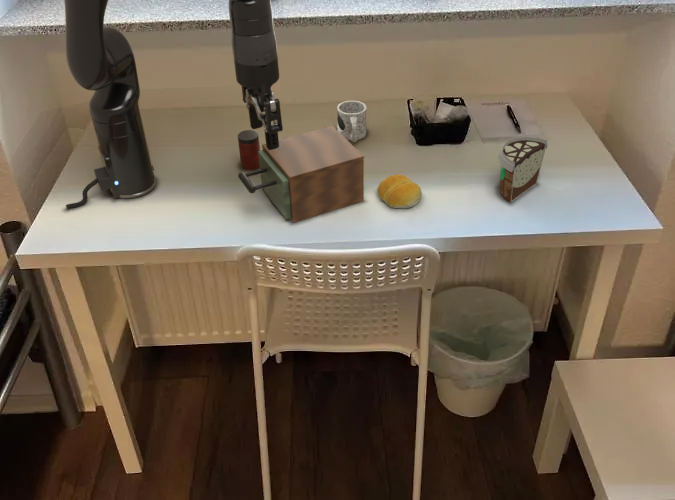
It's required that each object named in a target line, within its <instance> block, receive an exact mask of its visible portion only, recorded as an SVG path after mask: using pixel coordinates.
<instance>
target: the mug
mask: <svg viewBox="0 0 675 500" xmlns="http://www.w3.org/2000/svg"><path fill="white" fill-rule="evenodd" d="M336 119H337V121H336V123H337V131H338V132H339V133H340V134H341V135H342V136H343V137H344V138H345V139H346V140H347V141H351V142H352V143H356V142H357V141H359V140H362V139H364V138H366V135H367V104H365V103H364V102H362V101H358V100H345V101H342V102H340V103H339V104H337V106H336Z"/></svg>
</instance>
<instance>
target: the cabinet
mask: <svg viewBox="0 0 675 500" xmlns="http://www.w3.org/2000/svg"><path fill="white" fill-rule="evenodd" d="M278 140H279V147H278V148H276V149H272V150H268V149H267V147H266V143H263V144H261V145H262V146H261V147H262V150H264V151H265V152H266V153H267V155H268V156H269V157H270V158H271V159H272V160H273V161H274V162H275V163H276V165H277V166H278V167H279V168H280V169H281V171H282V172H283V173H284V174H285V175H286V177H287V178H288V180H289V192H290V205H291V218H289V220H290V221H291V222H292V224H296V223H298V222H301V221H305V220H307V219H311V218H314V217H318V216H320V215H323V214H324V215H325V214H327V213H330V212H333V211H336V210H340V209H343V208H346V207H350V206H353V205H356V204H359V203H362V202H364V198H365V197H364V195H365V194H364V190H365V187H364V182H365V178H364V177H365V171H364V170H365V169H364V167H365V163H364V162H365V161H364V159H365V158H364V157H365V156H364V155H363V154H362V153H361V152H360V151H359V150H358V149H357V148H356V147H355V146H354V145H353V144H352V143H351V142H350V141H349V140H346V139H345V138H344V137H343V136H342V135H341V134H340V133H339V132H338V129H337V128H336V127H334V126H333V125H330V126H327V127H323V128H318V129H315V130H312V131H307V132H304V133H300V134H296V135H293V136H288V137H284V138H281V139H278Z"/></svg>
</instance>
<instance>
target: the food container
mask: <svg viewBox="0 0 675 500" xmlns="http://www.w3.org/2000/svg"><path fill="white" fill-rule="evenodd" d="M546 149H548V139H546V138H541V137H537V136H517V137H513V138H511V139H508V140H507V141H506V142H504V143H503V145H502V146H501V148H500V150H499V152H498V154H497V160H498V163H499V164H500V175H499V178H500V179H499V194H500V197H502V199H504V200H505V201H506V202H507V203H509V204H512V203H513V202H514V201H516V200H517V199H519V198H520V197H521V196H523V195H524V194H526V193H527V192H528V191H530V190H531V189H532V188H534V187H536V185H538V180H539V177H540V173H541V169H542V164H543V161H544V156H545V152H546Z"/></svg>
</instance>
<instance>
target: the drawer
mask: <svg viewBox="0 0 675 500" xmlns="http://www.w3.org/2000/svg"><path fill="white" fill-rule="evenodd" d="M258 155H259V164H260V167H259V169H255V170H252V171H249V172H246V173H245V172H243V171H242V172H239V173H238V175H237V177H238V179H239V181H240V182H241V183H242V184H243V186H244V187H245V188H246V189H247V191H248V192H249V194H251V195H252V194H255V193H256V191H258V190H261V189H262V190H263V192H264V193H265V194H266V196H267V197H268V198H269V200H270V201H271V202H272V203H273V205H274V206H275V207H276V208H277V210H278V211H279V212H280V213H281V215H282V217H283V218H284V219H285V220H290V218H291V205H290V192H289V180H288V178H287V177H286V175H285V174H284V173H283V172H282V171H281V169H280V168H279V167H278V166H277V165H276V163H275V162H274V161H273V160H272V159H271V158H270V157H269V156H268V155H267V153H266V152H265V151H264V150H263V149H260V151H258ZM257 175H260V179H261V180H260V183H261V184H257V185H254V184H253V183H252V181H251V180H250V179H249V178H250V177H253V176H257Z"/></svg>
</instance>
